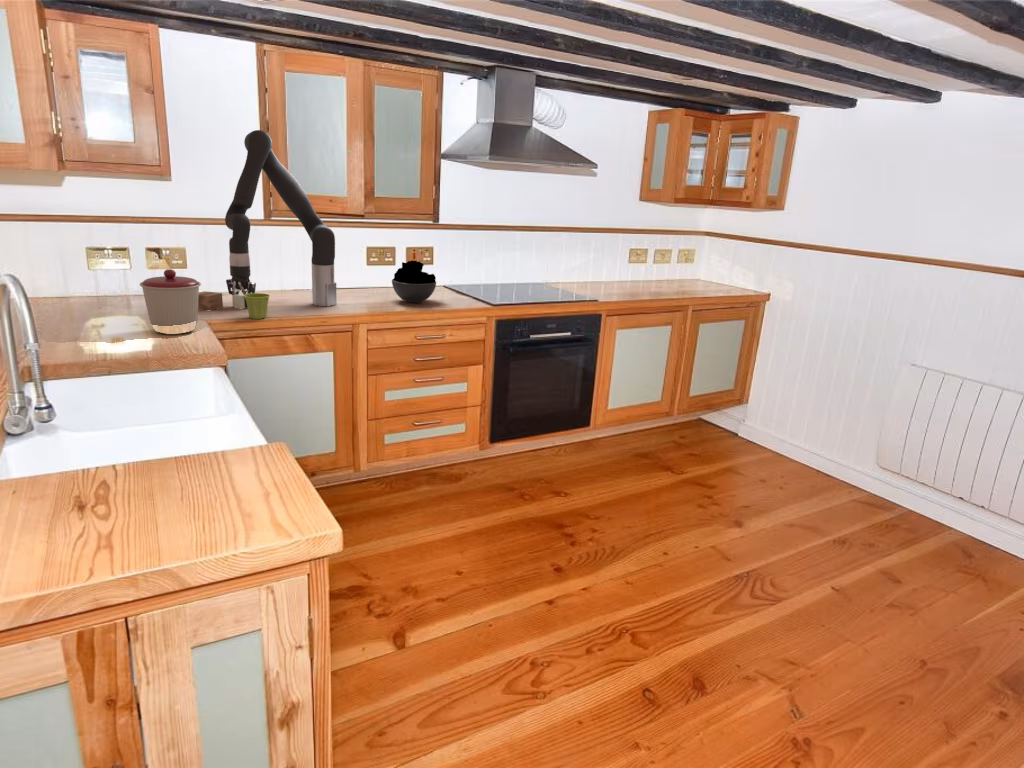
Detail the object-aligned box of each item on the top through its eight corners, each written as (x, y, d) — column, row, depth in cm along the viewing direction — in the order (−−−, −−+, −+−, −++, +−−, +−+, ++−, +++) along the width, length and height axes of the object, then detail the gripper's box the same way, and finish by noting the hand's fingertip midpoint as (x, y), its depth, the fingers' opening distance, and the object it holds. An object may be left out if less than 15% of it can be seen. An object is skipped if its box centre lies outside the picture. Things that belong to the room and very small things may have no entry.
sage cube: (251, 307, 265) (251, 295, 264) (242, 309, 261) (241, 296, 260) (242, 305, 267) (241, 293, 266) (232, 307, 263) (232, 295, 261)
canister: (133, 331, 218) (126, 268, 211) (183, 323, 232) (178, 264, 226) (165, 340, 209) (159, 275, 203) (215, 332, 224) (211, 270, 218)
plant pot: (243, 320, 243) (242, 297, 241) (245, 314, 252) (244, 292, 249) (270, 320, 246) (269, 297, 243) (271, 315, 254) (270, 293, 252)
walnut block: (223, 308, 261) (222, 293, 259) (209, 311, 254) (208, 296, 252) (205, 305, 263) (204, 291, 261) (191, 309, 255) (190, 294, 254)
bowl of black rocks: (427, 298, 312) (428, 258, 306) (441, 306, 295) (443, 264, 289) (386, 298, 303) (386, 258, 297) (399, 307, 286) (399, 264, 280)
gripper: (260, 265, 260) (262, 307, 265) (233, 261, 265) (236, 302, 270) (246, 267, 253) (248, 310, 258) (218, 262, 258) (221, 305, 263)
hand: (242, 306), depth 264 cm, fingers closed on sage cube, 5 cm apart
